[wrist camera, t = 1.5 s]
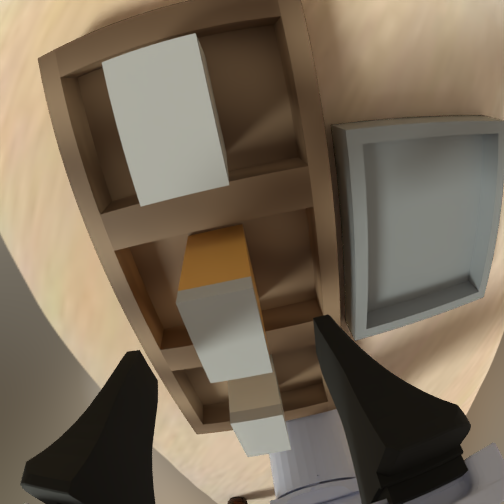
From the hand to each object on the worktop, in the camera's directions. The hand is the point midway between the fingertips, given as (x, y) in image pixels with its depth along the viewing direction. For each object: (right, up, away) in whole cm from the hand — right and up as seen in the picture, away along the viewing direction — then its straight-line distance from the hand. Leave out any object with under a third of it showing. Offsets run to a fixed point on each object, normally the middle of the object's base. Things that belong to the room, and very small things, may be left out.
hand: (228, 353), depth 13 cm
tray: (+12, +6, +6) cm, 15 cm away
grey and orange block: (-1, +3, +6) cm, 7 cm away
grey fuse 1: (-2, +11, +2) cm, 11 cm away
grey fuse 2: (+1, -5, +10) cm, 11 cm away
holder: (-1, +3, +7) cm, 8 cm away
